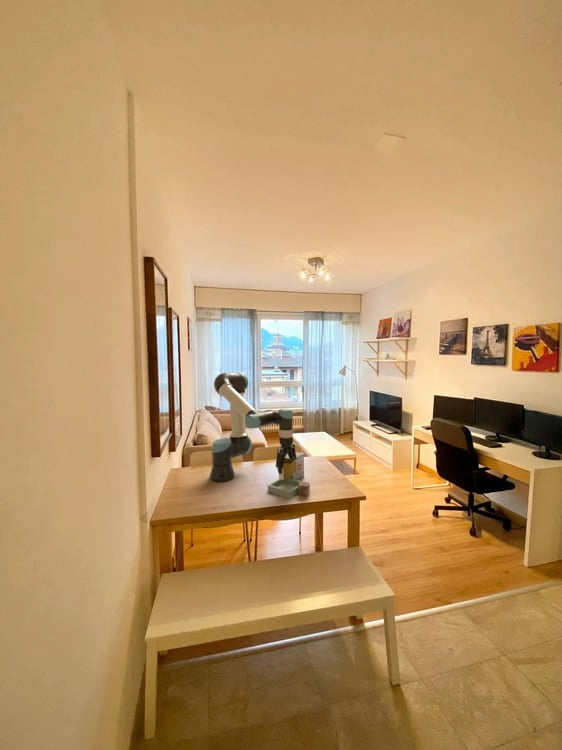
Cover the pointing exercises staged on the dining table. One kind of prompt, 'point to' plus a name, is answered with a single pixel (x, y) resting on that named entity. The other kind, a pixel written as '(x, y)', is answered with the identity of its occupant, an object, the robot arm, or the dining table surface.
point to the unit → (298, 466)
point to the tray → (284, 487)
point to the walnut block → (304, 489)
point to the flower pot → (289, 467)
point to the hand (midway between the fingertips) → (286, 476)
